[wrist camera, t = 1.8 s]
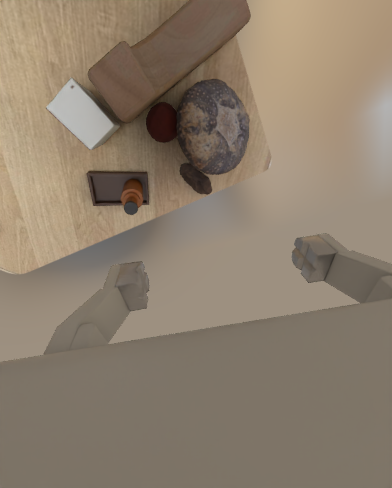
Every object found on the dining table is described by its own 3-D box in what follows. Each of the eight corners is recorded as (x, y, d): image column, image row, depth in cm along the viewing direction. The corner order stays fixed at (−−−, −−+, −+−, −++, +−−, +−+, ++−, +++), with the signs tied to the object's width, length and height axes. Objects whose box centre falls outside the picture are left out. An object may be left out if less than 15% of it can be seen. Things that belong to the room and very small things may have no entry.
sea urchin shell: (156, 91, 39) (190, 61, 31) (215, 91, 50) (250, 69, 42) (185, 186, 45) (219, 180, 38) (231, 167, 56) (264, 159, 49)
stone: (187, 156, 52) (174, 172, 53) (188, 157, 50) (175, 173, 51) (215, 184, 56) (203, 198, 57) (217, 186, 54) (205, 200, 55)
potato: (140, 131, 46) (140, 131, 40) (154, 96, 43) (157, 90, 37) (168, 148, 49) (172, 151, 43) (183, 116, 47) (189, 114, 41)
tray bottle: (120, 183, 50) (113, 203, 37) (136, 175, 50) (135, 192, 37) (130, 199, 53) (126, 223, 39) (145, 192, 53) (147, 213, 39)
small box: (69, 113, 41) (43, 107, 30) (89, 90, 40) (70, 75, 29) (102, 146, 46) (90, 151, 35) (121, 126, 45) (115, 124, 34)
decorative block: (100, 89, 41) (219, -14, 38) (127, 125, 45) (236, 34, 42) (83, 72, 28) (259, -86, 25) (122, 123, 32) (278, -8, 29)
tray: (95, 202, 51) (93, 205, 49) (89, 171, 48) (86, 173, 45) (148, 201, 55) (149, 204, 52) (146, 172, 51) (147, 174, 49)
